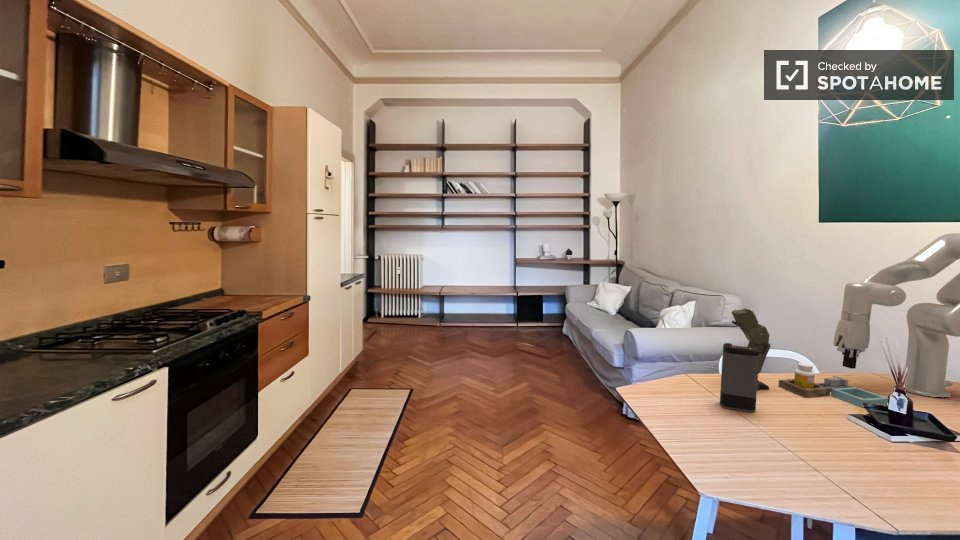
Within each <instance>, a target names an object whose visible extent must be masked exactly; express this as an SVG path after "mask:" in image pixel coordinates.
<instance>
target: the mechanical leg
mask: <svg viewBox="0 0 960 540" xmlns="http://www.w3.org/2000/svg"><path fill="white" fill-rule="evenodd" d="M731 314H732V316H733V319H734V320H732V321H731V324H733V325H734V326H737V327H738V328H739V329H740V330H741V331H742V332H743V334H744V336H745V338H746V339H747V340H748V344H747V346H748V345H751V346H755V347H757V348H758V349H759V367H758V375H759V374H760V373H761V372H762V368H763V366H764V363H765V360H766V358H767V356H768V353H769V350H770V349H771V344H770V343H769V342H770V333H769V331H768V329H767V327H766V326H765V325H764V326H763V325H762V324H760V323H759V320H758V319H757V317H756V315H755V313H754V311H752V310H751V309H750V308H749V309H748V308H745V307H744V308H743V309H734V310H732V311H731ZM757 390H758V391H759V390H761V391H763V390H766V391H767V390H768V391H769V390H770V386H769V385H767V384H765V383H764V382H763V381H760V380H758V382H757Z"/></svg>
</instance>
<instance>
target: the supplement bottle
mask: <svg viewBox="0 0 960 540" xmlns="http://www.w3.org/2000/svg"><path fill="white" fill-rule="evenodd" d="M813 367H814V366H813V365H812V364H810V363H807V362H806V363H805V362H798V363H797V368H796V369H795V371H794V378H793V379H794V384H795V385H797V386H800V387H802V388H805V389H806V388H814V383H815V372H814V371H813Z"/></svg>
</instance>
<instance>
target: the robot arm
mask: <svg viewBox="0 0 960 540" xmlns="http://www.w3.org/2000/svg"><path fill="white" fill-rule="evenodd" d="M958 260H960V233H958V232H957V233H956V232H955V233H953V232H952V233H946V234H942V235H940V236H938V237H937V238H935V239H934V240H932V241H931V242H929V244H927V245H925V246H924V247H923V248H921V249H920V250H919V251H917V252H916V253H914V254H913V255H912V256H910V257H909V258H907V259H905V260H903V261H899V262H897V263H895V264H892V265H890V266H887V267H885V268H882V269H880V270H878V271H876V272H874V273H872V274H871V275H870V276H868V277H867V278H865V279H864V280H863V281H861V283H860V282H848V283H846V284H845V286H844V292H843V301H842V308H841V315H840V316H841V317H840V319H839V321H838V322H837V325H836V329H835V332H834V336H833V345H834V346H835V347H837V348H836V350H837V351H838V352H841V353H842V354H841V355H842V356H843V359H842V367H845V368H848V369H856V367H857V360H858V358H859V356H860V354H861V353H864V352H866V349H867V348H869V346H870V339H871V326H870V322H871V314H872V309H873V307H872V306H873V305H877V306H883V307H897V306H900V305H902V304H903V303H904V302H905V301H906V299H907V294H906V291H905V290H904V289H902V287H901V288H900V287H899V286H897V285H901V284H904V283H907V282H915V281H922V280H926V279H927V280H928V279H930V278H933V277H935V276H936V275H938V274H940V272H942V271H943V270H945V269H946V268H948V267H950V265H952V264H953V263H955V262H956V261H958ZM935 296H936V300H937V302H938V303H939V304H938V303H934V302H933V303H932V302H920V303H916V304H914V305H912V306H911V307H909V309H908V310H907V312H906V323H907V328H908V338H907V347H906V348H907V351H906V357H905V358H906V360H905V361H906V362H905V370H906V368H907V367H908V374H907V379H906V382H905V388H906V390H907V391H906V392H909V393H910V394H915V395H918V396H922V397H923V396H924V397H928V396H930V397H931V398H935V397H949V396H950V397H951V395H952V393H951V392H950V391H948V390H947V389H946V387H952V386H953V385H954V384H953V382H952V381H951V380H946V377H947V367H948V358H949V350H950V341H949V340H948V339H949V338H948V336H949V337H950V336H951V337H955V338H956V337H957V338H959V337H960V272H959V273H958V274H956V275H955V276H954V277H952V278H951V279H950V280H949V281H948V282H947V283H945V284H944V285H943V286H942V287H941V288H940V289H939V290H938V291H937V293H936V295H935ZM930 397H929V398H930ZM950 397H949V398H950Z"/></svg>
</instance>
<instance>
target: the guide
mask: <svg viewBox="0 0 960 540" xmlns="http://www.w3.org/2000/svg"><path fill="white" fill-rule="evenodd" d="M815 383H816V382H815ZM816 384H819V385H821V386H824V382H819V383H818V382H817V383H816ZM824 387H825V386H824ZM848 387H853V386H851V385H848V386H837V387H827V388H829V389H830V393H831V389H834V388H848Z"/></svg>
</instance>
